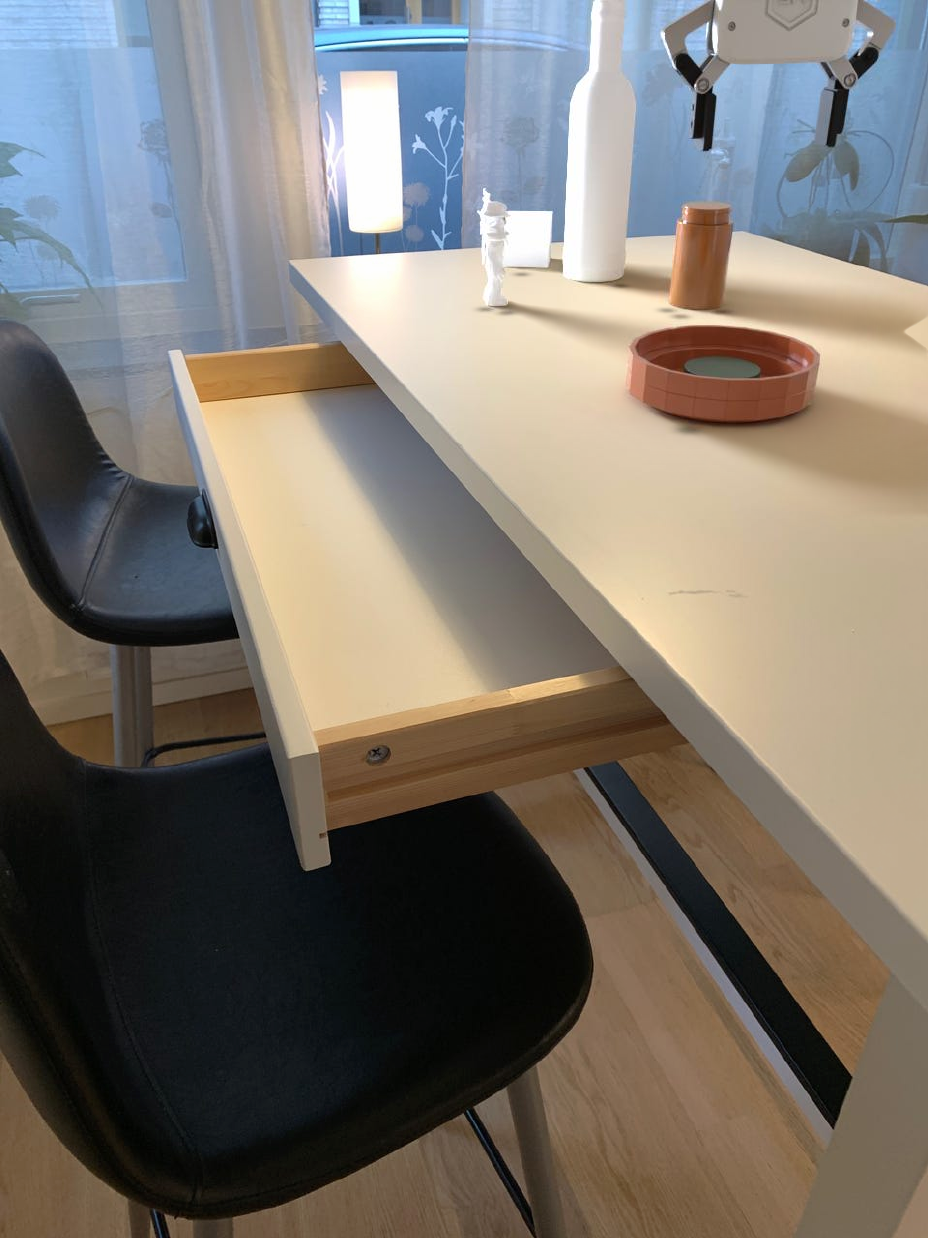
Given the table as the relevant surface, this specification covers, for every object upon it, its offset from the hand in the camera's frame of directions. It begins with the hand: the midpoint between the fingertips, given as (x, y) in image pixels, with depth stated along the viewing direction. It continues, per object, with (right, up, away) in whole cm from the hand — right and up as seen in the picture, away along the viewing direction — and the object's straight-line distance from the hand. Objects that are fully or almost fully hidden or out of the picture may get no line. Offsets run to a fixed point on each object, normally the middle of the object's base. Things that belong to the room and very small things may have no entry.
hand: (763, 147), depth 78 cm
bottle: (-7, +7, +49) cm, 50 cm away
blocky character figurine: (-20, 0, +38) cm, 43 cm away
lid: (-1, -16, +9) cm, 18 cm away
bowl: (-1, -18, +9) cm, 20 cm away
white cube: (-15, +11, +55) cm, 58 cm away
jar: (+3, -1, +37) cm, 37 cm away
